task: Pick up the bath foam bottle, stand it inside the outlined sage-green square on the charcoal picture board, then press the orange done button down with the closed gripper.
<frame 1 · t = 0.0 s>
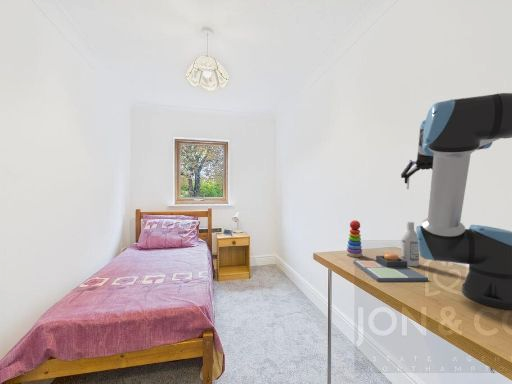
hand: (422, 187, 126), 36 cm above the table, tool tilted 35°, fingers open, 13 cm apart
done button: (391, 257, 109), point 4 cm above the table, slide at 0.0 cm
bath foam: (409, 264, 113), on the table
picture board: (386, 271, 104), on the table
stacking toy: (354, 255, 128), on the table
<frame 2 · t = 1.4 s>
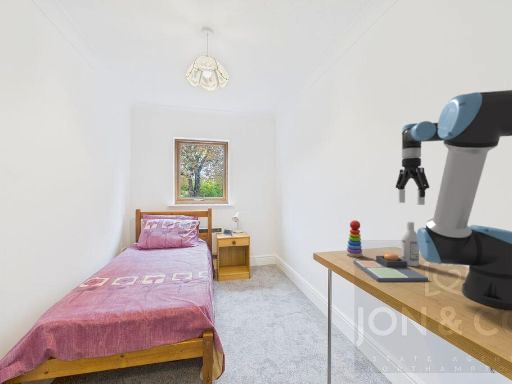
hand: (410, 203, 112), 29 cm above the table, tool pointing down, fingers open, 13 cm apart
nothing on the table moved.
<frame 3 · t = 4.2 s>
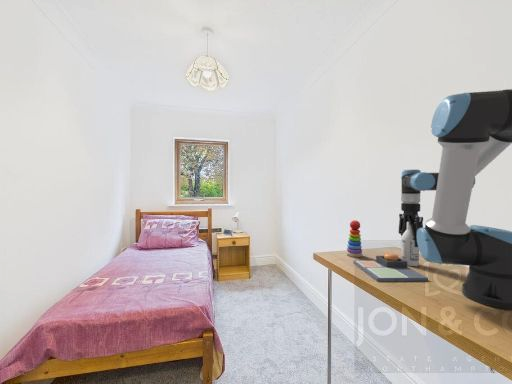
hand: (410, 251, 113), 6 cm above the table, tool pointing down, fingers closed on bath foam, 7 cm apart
bath foam: (409, 264, 113), on the table, touching gripper
everything else where it was.
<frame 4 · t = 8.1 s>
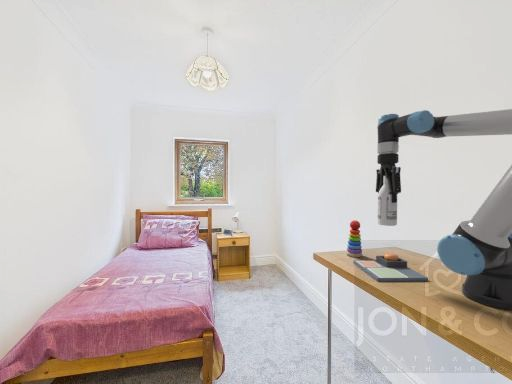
hand: (387, 209, 98), 27 cm above the table, tool pointing down, fingers closed on bath foam, 7 cm apart
bath foam: (387, 225, 98), point 21 cm above the table, touching gripper
everything else where it was.
when the fingers open (9 cm above the table, at t = 12.0 s): bath foam drops 1 cm, resting on picture board.
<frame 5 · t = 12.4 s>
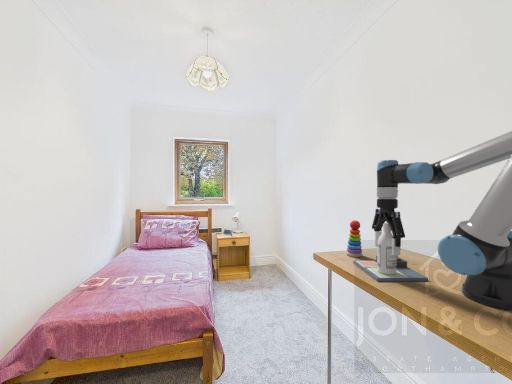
hand: (386, 250, 98), 10 cm above the table, tool pointing down, fingers open, 13 cm apart
bath foam: (386, 272, 98), point 1 cm above the table, touching picture board
everything else where it was.
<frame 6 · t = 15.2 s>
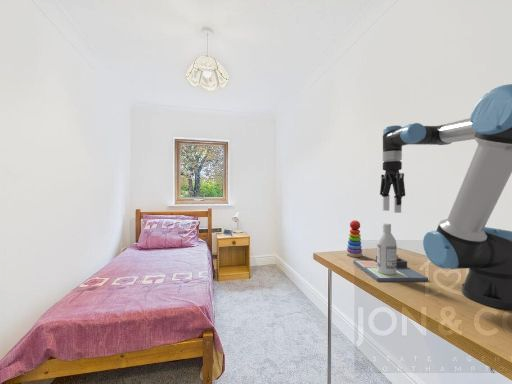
hand: (391, 211, 109), 25 cm above the table, tool pointing down, fingers open, 8 cm apart
nothing on the table moved.
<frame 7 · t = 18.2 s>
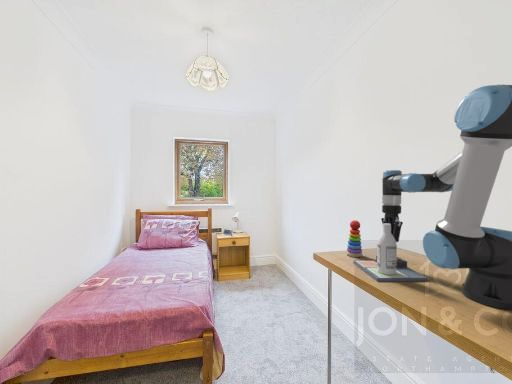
hand: (390, 256, 109), 5 cm above the table, tool pointing down, fingers closed
done button: (391, 259, 109), point 3 cm above the table, slide at 0.8 cm, touching gripper
everything else where it was.
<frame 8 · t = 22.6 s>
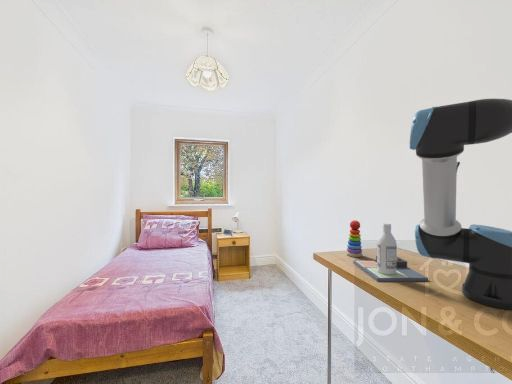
hand: (444, 200, 107), 30 cm above the table, tool pointing down, fingers closed
done button: (391, 260, 109), point 3 cm above the table, slide at 1.2 cm
everything else where it was.
at the end: bath foam 0.1 cm from the target spot on the picture board, point 1.1 cm above the picture board's base; bath foam tilted 0°; done button slide at 1.2 cm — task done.
